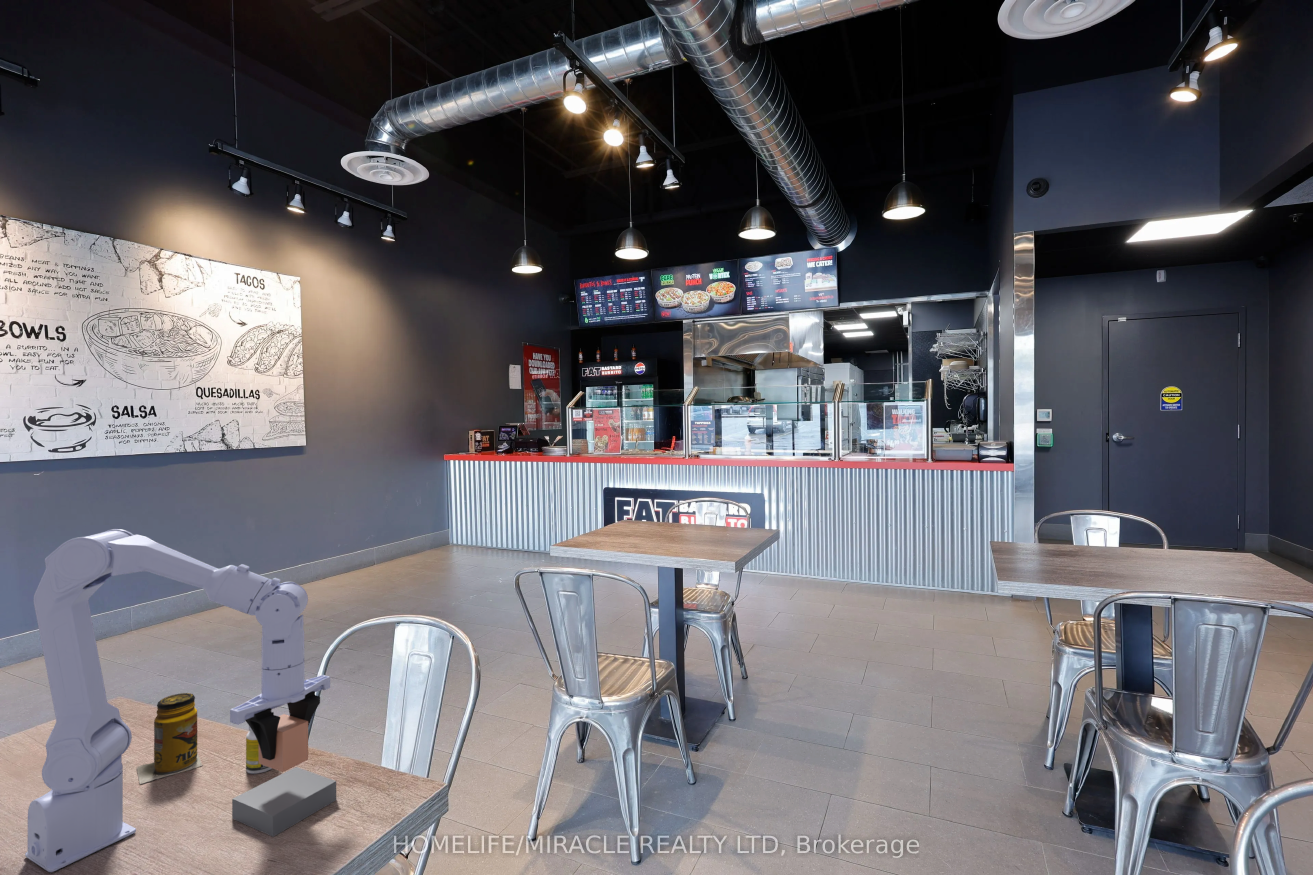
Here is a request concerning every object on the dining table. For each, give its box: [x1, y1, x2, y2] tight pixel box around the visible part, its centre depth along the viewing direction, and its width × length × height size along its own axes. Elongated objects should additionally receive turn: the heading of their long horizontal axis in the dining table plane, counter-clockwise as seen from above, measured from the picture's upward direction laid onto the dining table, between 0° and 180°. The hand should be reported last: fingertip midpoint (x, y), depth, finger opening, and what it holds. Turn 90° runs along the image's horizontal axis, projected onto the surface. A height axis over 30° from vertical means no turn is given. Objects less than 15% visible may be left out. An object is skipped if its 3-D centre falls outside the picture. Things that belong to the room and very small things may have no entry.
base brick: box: [231, 766, 337, 837], centre depth 94 cm, size 10×10×3 cm
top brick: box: [259, 713, 309, 773], centre depth 94 cm, size 4×6×6 cm, turn 64°
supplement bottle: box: [245, 725, 272, 775], centre depth 106 cm, size 5×5×8 cm
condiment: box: [136, 692, 203, 785], centre depth 107 cm, size 7×8×12 cm
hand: (283, 750), depth 94 cm, fingers closed on top brick, 4 cm apart
